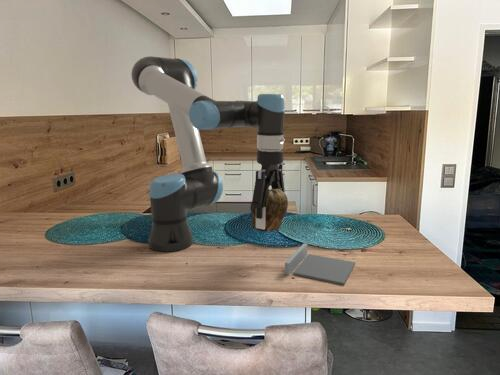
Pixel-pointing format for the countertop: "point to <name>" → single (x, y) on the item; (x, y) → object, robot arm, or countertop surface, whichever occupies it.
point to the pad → (325, 269)
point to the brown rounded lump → (272, 210)
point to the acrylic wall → (295, 259)
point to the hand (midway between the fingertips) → (268, 222)
